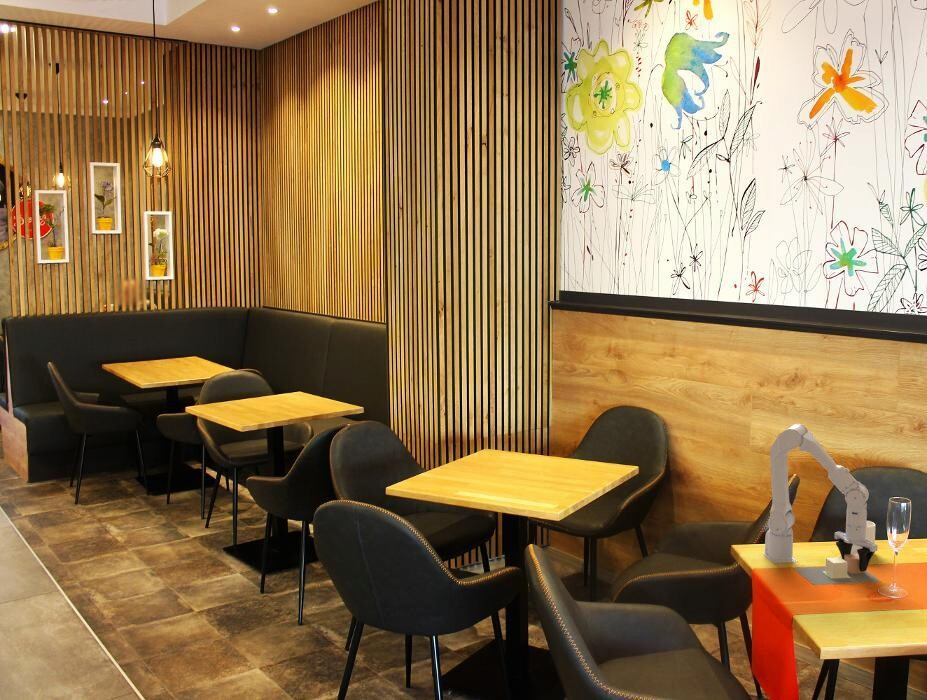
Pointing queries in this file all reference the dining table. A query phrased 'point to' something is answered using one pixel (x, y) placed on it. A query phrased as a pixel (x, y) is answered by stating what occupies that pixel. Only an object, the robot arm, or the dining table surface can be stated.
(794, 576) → the dining table surface
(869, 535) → the mug
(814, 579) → the mat
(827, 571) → the cream block
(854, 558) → the terracotta block
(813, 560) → the dining table surface
